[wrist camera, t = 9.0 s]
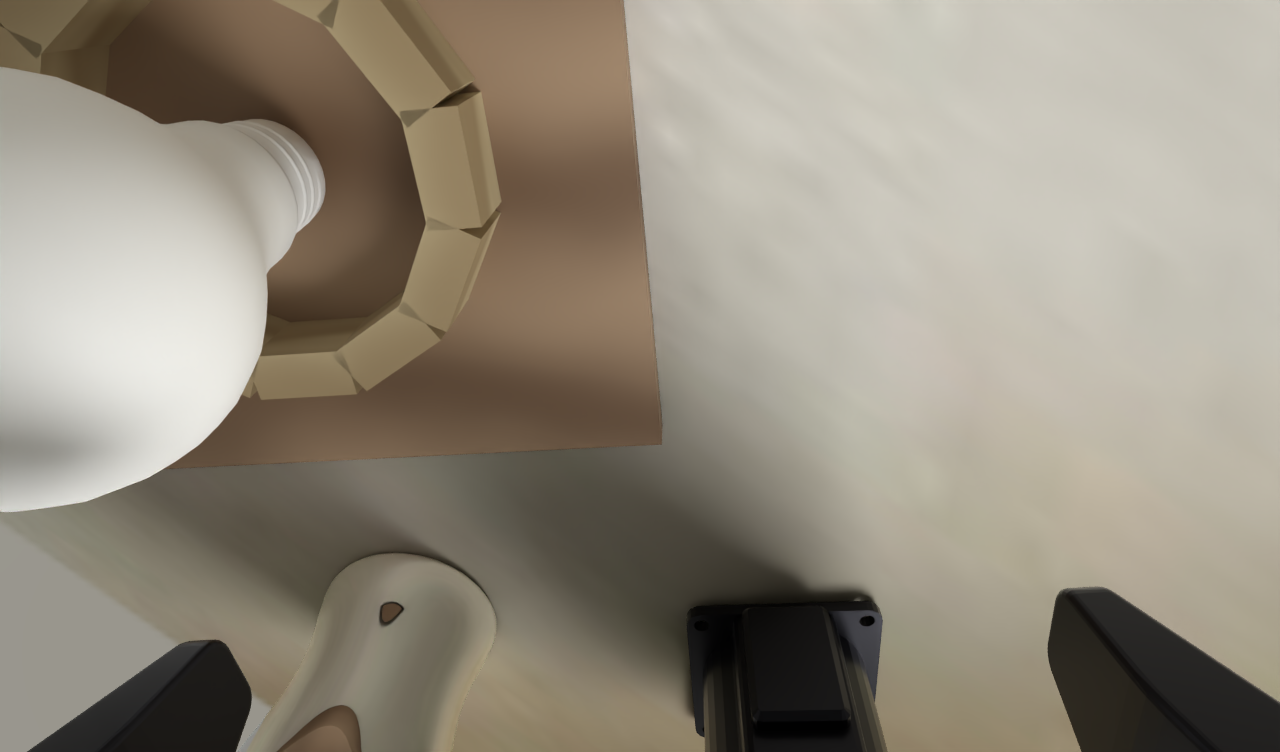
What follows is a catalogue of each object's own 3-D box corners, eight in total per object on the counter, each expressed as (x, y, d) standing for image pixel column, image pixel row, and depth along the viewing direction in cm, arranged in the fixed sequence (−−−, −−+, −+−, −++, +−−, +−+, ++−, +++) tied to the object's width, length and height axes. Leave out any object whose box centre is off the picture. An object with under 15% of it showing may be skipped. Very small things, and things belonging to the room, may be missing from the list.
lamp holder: (662, 425, 22) (659, 488, 19) (126, 453, 23) (55, 514, 20) (591, -349, 13) (569, -427, 11) (-232, -231, 15) (-426, -274, 12)
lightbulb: (159, 249, 18) (-401, 546, 9) (150, -13, 16) (-696, 3, 6) (398, 314, 19) (117, 658, 9) (432, 74, 16) (75, 216, 7)
